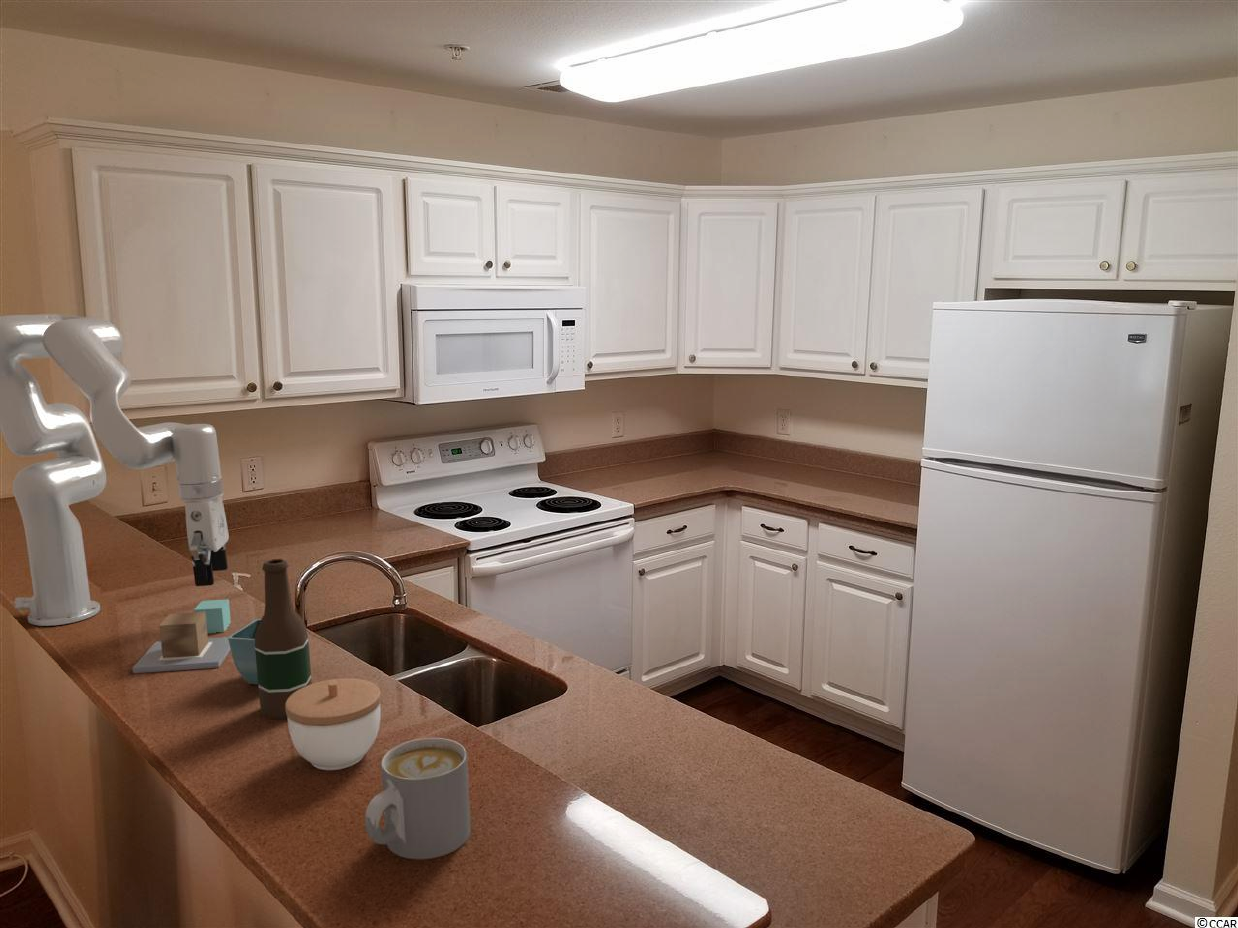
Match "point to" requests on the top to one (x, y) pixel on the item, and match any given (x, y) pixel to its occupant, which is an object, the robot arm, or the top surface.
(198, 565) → the robot arm
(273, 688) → the beer bottle
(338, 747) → the lidded bowl
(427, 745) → the coffee mug
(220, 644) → the pad
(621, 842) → the top surface
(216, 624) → the teal block
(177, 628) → the walnut block
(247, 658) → the flower pot
